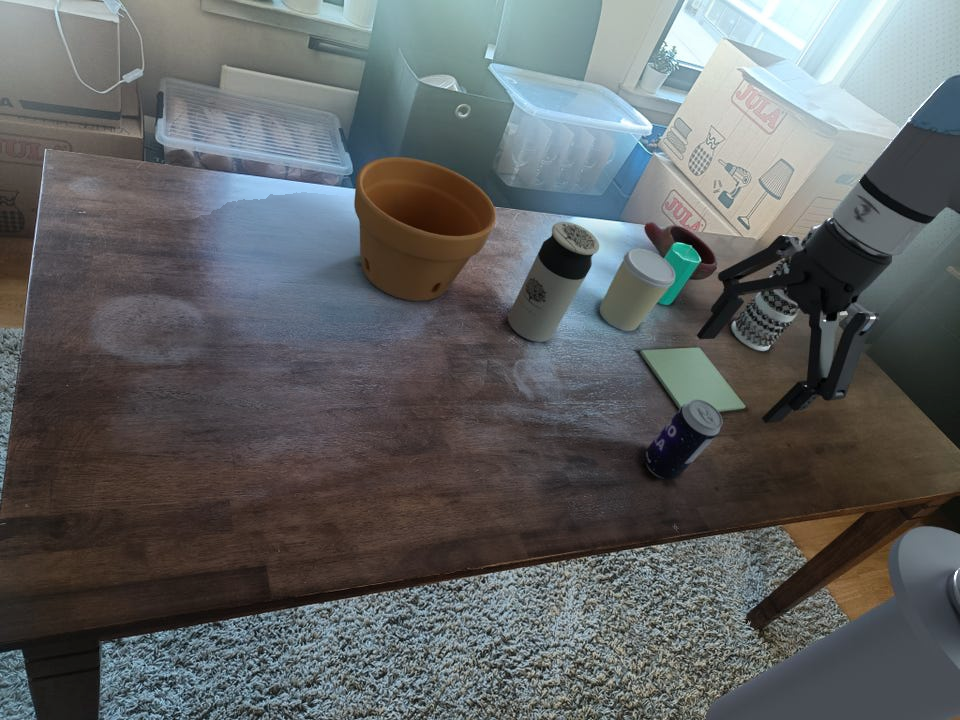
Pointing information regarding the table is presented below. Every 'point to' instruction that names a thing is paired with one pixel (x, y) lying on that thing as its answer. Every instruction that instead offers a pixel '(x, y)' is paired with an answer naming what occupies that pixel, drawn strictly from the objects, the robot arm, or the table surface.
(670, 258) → the candle
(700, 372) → the mat
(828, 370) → the robot arm
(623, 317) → the cream lidded canister
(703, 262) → the bowl
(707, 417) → the beverage can
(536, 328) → the travel mug
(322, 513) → the table surface
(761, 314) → the decorative candle
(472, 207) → the flower pot
